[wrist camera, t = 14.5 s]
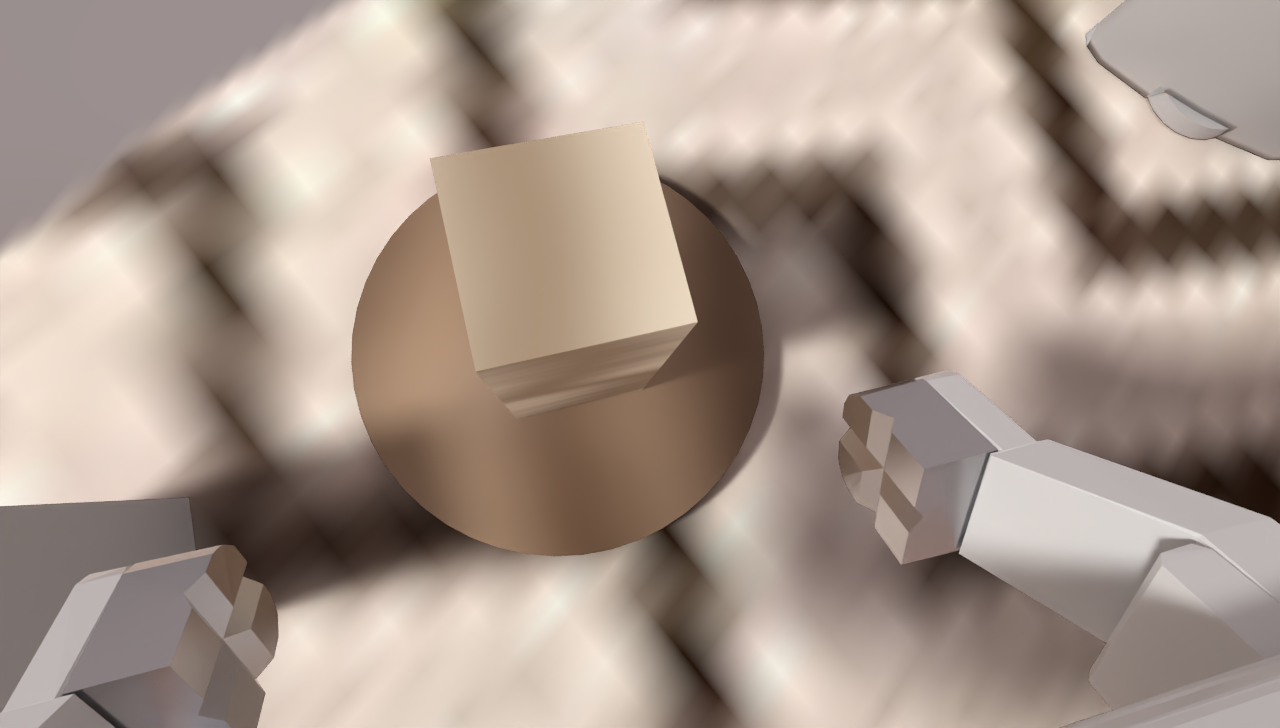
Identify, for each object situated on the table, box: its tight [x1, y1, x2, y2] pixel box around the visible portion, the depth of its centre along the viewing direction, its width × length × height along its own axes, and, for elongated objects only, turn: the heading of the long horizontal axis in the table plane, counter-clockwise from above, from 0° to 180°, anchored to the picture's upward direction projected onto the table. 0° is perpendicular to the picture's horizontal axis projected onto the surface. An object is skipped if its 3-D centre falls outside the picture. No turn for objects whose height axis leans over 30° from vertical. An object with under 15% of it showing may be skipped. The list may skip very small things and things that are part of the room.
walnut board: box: [351, 182, 764, 556], centre depth 21 cm, size 13×13×1 cm
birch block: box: [430, 122, 698, 420], centre depth 16 cm, size 4×4×9 cm
